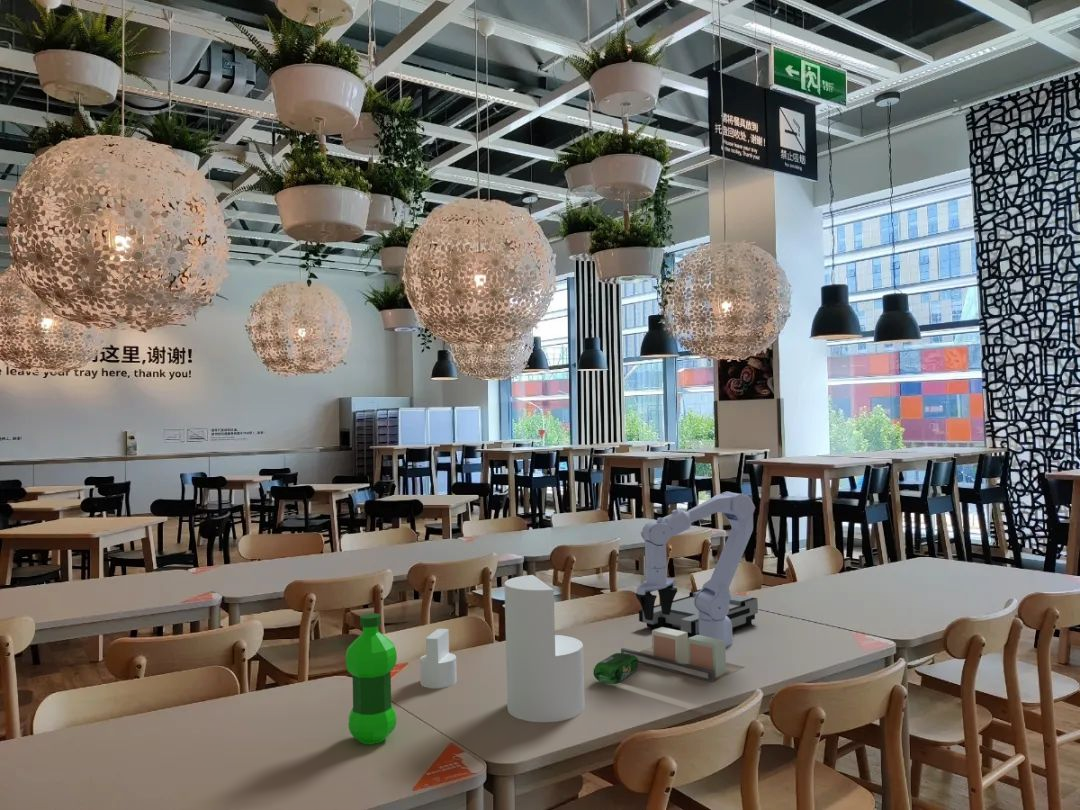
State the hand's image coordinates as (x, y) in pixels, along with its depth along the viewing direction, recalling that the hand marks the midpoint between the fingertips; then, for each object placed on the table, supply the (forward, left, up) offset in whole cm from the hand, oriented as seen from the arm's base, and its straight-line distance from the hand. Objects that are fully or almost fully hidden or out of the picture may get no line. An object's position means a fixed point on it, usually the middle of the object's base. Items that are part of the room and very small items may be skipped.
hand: (657, 616), depth 206 cm
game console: (-30, -7, -11) cm, 33 cm away
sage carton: (+6, +19, -9) cm, 22 cm away
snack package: (+22, +4, -11) cm, 25 cm away
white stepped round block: (+47, +4, -11) cm, 48 cm away
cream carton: (+5, +8, -9) cm, 13 cm away
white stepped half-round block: (+53, -28, -11) cm, 61 cm away
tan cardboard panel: (+4, +10, -10) cm, 15 cm away
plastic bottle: (+83, -10, -11) cm, 84 cm away
